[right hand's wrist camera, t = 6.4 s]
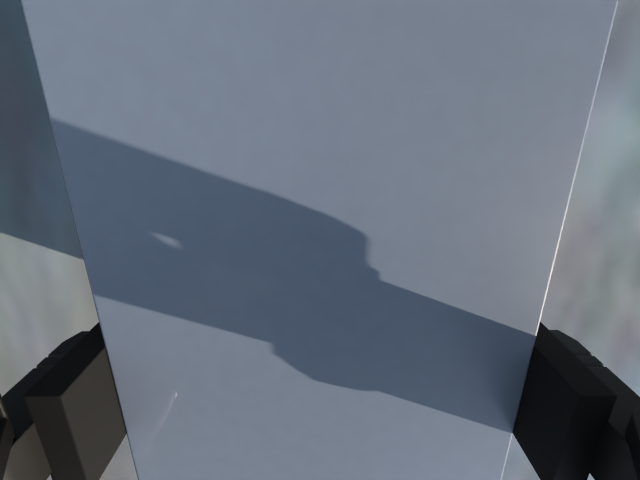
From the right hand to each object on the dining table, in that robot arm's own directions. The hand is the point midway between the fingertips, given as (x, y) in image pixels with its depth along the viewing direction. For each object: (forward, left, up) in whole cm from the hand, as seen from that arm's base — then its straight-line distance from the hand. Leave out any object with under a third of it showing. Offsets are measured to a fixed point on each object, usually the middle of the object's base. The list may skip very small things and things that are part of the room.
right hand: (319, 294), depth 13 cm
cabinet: (+2, +6, -5) cm, 8 cm away
